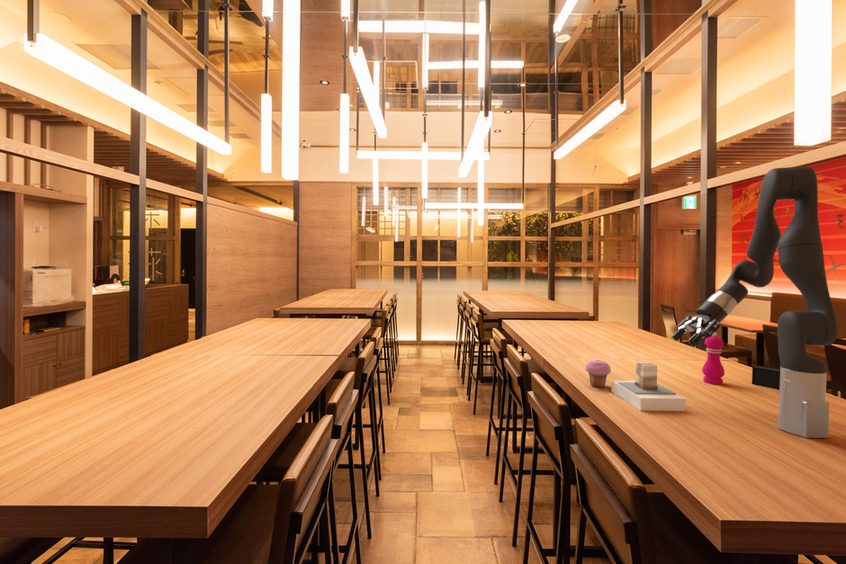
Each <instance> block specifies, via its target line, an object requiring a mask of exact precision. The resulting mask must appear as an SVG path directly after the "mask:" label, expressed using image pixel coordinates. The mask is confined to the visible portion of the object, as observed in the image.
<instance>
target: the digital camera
mask: <svg viewBox="0 0 846 564" xmlns="http://www.w3.org/2000/svg"><path fill="white" fill-rule="evenodd" d="M751 385H755V386H760V387H765V388H769V389H774V390H778V391H780V368H774V367H773V368H772V367H768V366H762V365H754V366H752V367H751Z"/></svg>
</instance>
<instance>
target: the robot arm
mask: <svg viewBox="0 0 846 564" xmlns="http://www.w3.org/2000/svg"><path fill="white" fill-rule="evenodd" d="M818 189H819V188H818V176H817V174H816V172H815V170H814V169H813V168H812V167H810V166H791V167H790V166H789V167H775V168H772V169H770V170H768V172H766V174H765V175H764V176H763V180H762V182H761V187H760V190H759V191H760V192H759V196H758V202H757V209H756V214H755V215H756V217H755V223H754V228H753V231H752V235H751V238H750V241H749V243H748V245H747V249H746V256H747V257H748V258H749V259H750V260H747V259H745V260H743V259H742V260H741V261H739V262H737V263H736V264H735V265H734V267H733V269H732V271H731V272H730V275H729V277H728V278H727V280H726V281H725V282H724V284H722V286H721V287H719V289H717V291H715V293H713V294H712V295H710V296H709V297H708V298H707V299H706V300H705V301H704V302H702V304H700V306H699V307H698V308H697V309H696V315H695V316H693V317H692V316H691V315H690V314H689V315H687V316H686V317H685V318H684V319H683V320H681V321H680V322H679V323H678V324H677V325H676V328H677V331H675V332H674V333H673V334H672V335H671V338H672V339H673V340H674V341H676V342H678V341H679V340H680V339H681V338H682V337H683V336H685V334H687V333H689V332H690V333H692V332H694V334H693V335H692V336H690V337H689V338H688V340H687V342H688V344H690V345H691V346H692V347H693V346H695V345H696V344H697V343H698V342H699V341H700V340H701V339H706V338H709V337H711V336H712V334H713V333H714V332H715V333H716V332H717V330H718V329H719V328H720V327H721V326H722V325H721V324H720V323H721V322H722V321H723V320H725V318H726V317H728V315H730V314H731V313H732V312H733V310H735V308H736V307H737V306H738V305H739V304H740V303H741V302H742V301H743V300H744V299H745V298H746V297H747V296H748V294H749V290H748V288H747V287H746V286H745V285H744V284H742V283H741V282H743V283H746V284H748V285H751V286H753V287H756V288H764V287H767V286H768V285H769V284H771V282H772V280H773V279H774V274H775V268H774V267H775V266H774V263H775V254H776V251H777V254H778V255H777V256H778V263H779V268H780V269H781V271H782V272H783V274H784V275H785V276H786V277H787V278H788V280H789V281H790V282H792V284H793V285H794V286H795V287H796V288H797V289H798V290H799V292H800V294H801V295H802V297H803V300H804V302H805V308H806V310H805V311H803V310H788V311H784V312H783V313H782V314H781V315H780V317H778V321H777V347H778V348H777V351H778V352H777V353H778V354H777V355H778V357H779V360H780V362H779V363H780V365H779V366H780V367H779V369H780V390H779V394H778V395H779V396H778V399H779V401H778V428H779V429H781V430H782V431H784V432H787V433H790V434H792V435H796V436H800V437H802V438H805V439H807V438H809V439H811V438H812V439H813V438H814V439H815V438H816V439H818V438H819V439H828V438H829V429H830V428H829V427H830V426H829V424H830V402H828V401H826V400H827V397H826V396H827V379H828V378H827V376H828V374H827V373H828V365H827V362H826V361H825V360H823V359H820V358H817V357H813V356H812V355H811V354H809V353H807V348H806V346H824V347H825V346H830V345H832V344H833V343H834V342H836V339H837V338H838V322H837V317H836V313H835V310H834V305H833V302H832V299H831V296H830V291H829V286H828V281H827V274H826V273H827V272H826V268H825V257H824V256H825V255H824V248H823V243H822V238H821V237H822V236H821V230H820V223H819V222H820V221H819V208H818V207H819V206H818V203H819V202H818V201H819V199H818V198H819V197H818V196H819V195H818V193H819V191H818ZM781 200H782V201H785V200H786V201H787V200H793V202H794V214H793V217H792V220H791V221H790V223H789V224H788V226H787V227H786V228H785V230H784V231H783V233H782V232H781V229H780V227H779V224H778V222H777V219H776V217H775V213H774V212H775V211H774V210H775V205H776V203H777V201H781ZM740 281H741V282H740ZM695 331H696V332H695Z"/></svg>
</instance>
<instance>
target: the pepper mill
mask: <svg viewBox="0 0 846 564" xmlns="http://www.w3.org/2000/svg"><path fill="white" fill-rule="evenodd" d="M704 339H705V340H704V345H705V346H706V348H705V351H706V353H707V357H706V360H705V362H704V364H703V365H702V370H701V372H702V374H703V378H702V381H703V382H704V383H706V384H709V383H711V384H710V385H716V384H721V385H723V383H724V379H723V377H724V376H725V374H726V373H725V368H724V366H723V364H722V362H721V354H722V351H723V349H722V348H723V347H724V345H725V344H724V340H723V339H722V338H721V337H720V336H718V334H717V332H716V331H715V332H714V333H713V334H712V336H711V337H709V338H707V337H705V338H704Z"/></svg>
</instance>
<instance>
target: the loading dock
mask: <svg viewBox="0 0 846 564" xmlns="http://www.w3.org/2000/svg"><path fill="white" fill-rule="evenodd" d="M635 382H636V380H615V379H614V380H611V384H610V385H611V386H610V387H611V388H610V389H611V391H610V392H611V393H613V394H615V395H616V396H617V397H619V398H621V399H622V400H624V401H625V402H627V403H628V404H630V405H631V406H633V407H634V408H635V409H637V410H638V411H641V412H651V411H652V412H686V401H687V400H686V398H685V397H684V396H681V395H679V394H677V393H676V392H675V391H673V390H671V389H668V388H667V387H665V386H662V385H660V384H659V383H657V386H658V390H645V389H641V388H639V387H637V386H636V385H635Z"/></svg>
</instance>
